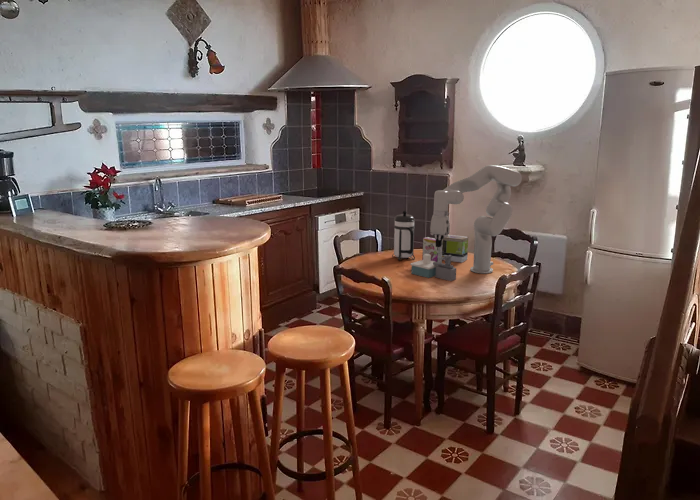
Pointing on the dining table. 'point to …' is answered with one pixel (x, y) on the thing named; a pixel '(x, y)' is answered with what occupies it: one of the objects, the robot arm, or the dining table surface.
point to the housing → (435, 272)
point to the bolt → (447, 261)
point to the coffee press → (404, 236)
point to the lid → (425, 262)
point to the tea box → (455, 248)
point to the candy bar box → (432, 249)
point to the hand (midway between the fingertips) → (438, 246)
